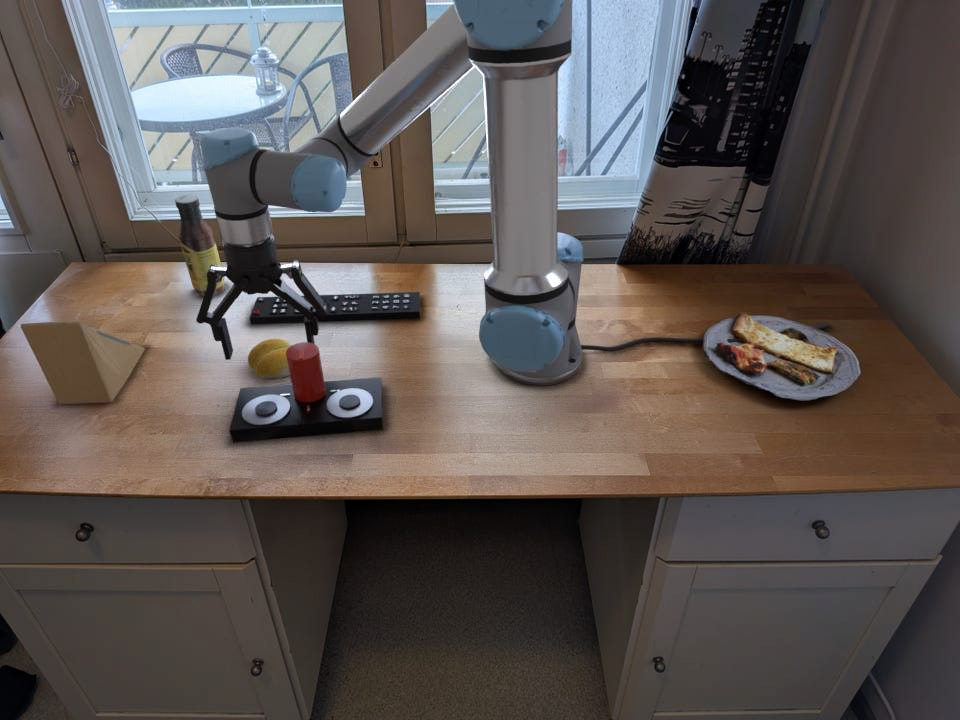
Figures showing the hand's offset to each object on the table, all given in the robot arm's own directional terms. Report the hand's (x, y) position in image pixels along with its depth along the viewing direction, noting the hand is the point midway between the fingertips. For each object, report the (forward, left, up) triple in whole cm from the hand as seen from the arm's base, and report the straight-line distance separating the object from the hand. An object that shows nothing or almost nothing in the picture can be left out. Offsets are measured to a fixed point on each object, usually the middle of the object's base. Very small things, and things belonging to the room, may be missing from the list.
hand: (271, 352), depth 110 cm
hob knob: (-7, +12, 0) cm, 14 cm away
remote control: (-10, -17, -3) cm, 20 cm away
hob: (-7, +14, -3) cm, 16 cm away
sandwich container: (+28, -1, -3) cm, 28 cm away
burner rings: (-7, +15, 0) cm, 17 cm away
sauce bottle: (+16, -28, -3) cm, 32 cm away
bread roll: (0, 0, -3) cm, 3 cm away
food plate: (-86, +10, -3) cm, 87 cm away
